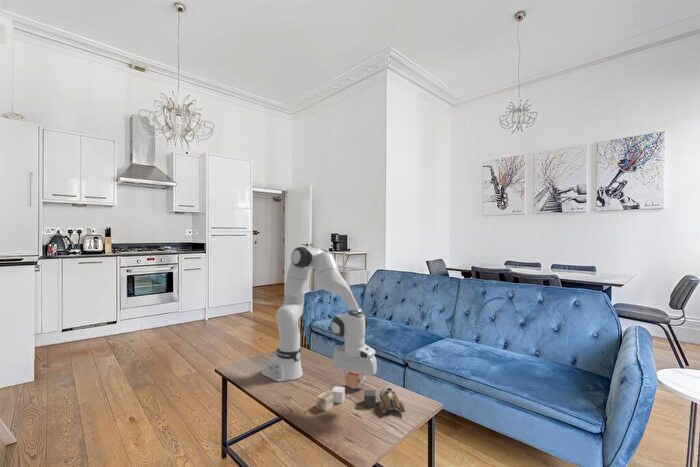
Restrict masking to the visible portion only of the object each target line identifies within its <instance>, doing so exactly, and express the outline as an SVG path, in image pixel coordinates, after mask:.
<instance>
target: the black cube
mask: <svg viewBox="0 0 700 467" xmlns="http://www.w3.org/2000/svg"><path fill="white" fill-rule="evenodd" d="M363 392H364V393H363V394H364V395H363V398H364V399H363V400H364V401H363V403H364V406H363V407H365V408H376V405H377V404H376V399H377V398H376V397H377V396H376V390H373V389H364V390H363Z"/></svg>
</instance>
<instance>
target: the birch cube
mask: <svg viewBox="0 0 700 467" xmlns="http://www.w3.org/2000/svg"><path fill="white" fill-rule="evenodd" d="M316 406H317V409H319V410H322V411H323V412H328V411H329V410H331V409H332V408H333V407H334V402H333V395H332V393H328V392H326V391H324V392H323V393H321V394H319V395H318V396H317V397H316Z"/></svg>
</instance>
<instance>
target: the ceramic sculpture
mask: <svg viewBox="0 0 700 467" xmlns="http://www.w3.org/2000/svg"><path fill="white" fill-rule="evenodd" d="M379 398H380V400H381V401H380V402H379V410H380V413H382V415H383V414H386V413H387V412H388V411H394V410H397V411H398V412H401V413H405V412H406V410H405V405H404V403H403V402H402V401H401V400H399V396H398V395H397V392H395V390H394V389H393V387H392V386H390V385H388V383H385V384H384V386H383V387H382V388H381V390H380V392H379Z"/></svg>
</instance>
